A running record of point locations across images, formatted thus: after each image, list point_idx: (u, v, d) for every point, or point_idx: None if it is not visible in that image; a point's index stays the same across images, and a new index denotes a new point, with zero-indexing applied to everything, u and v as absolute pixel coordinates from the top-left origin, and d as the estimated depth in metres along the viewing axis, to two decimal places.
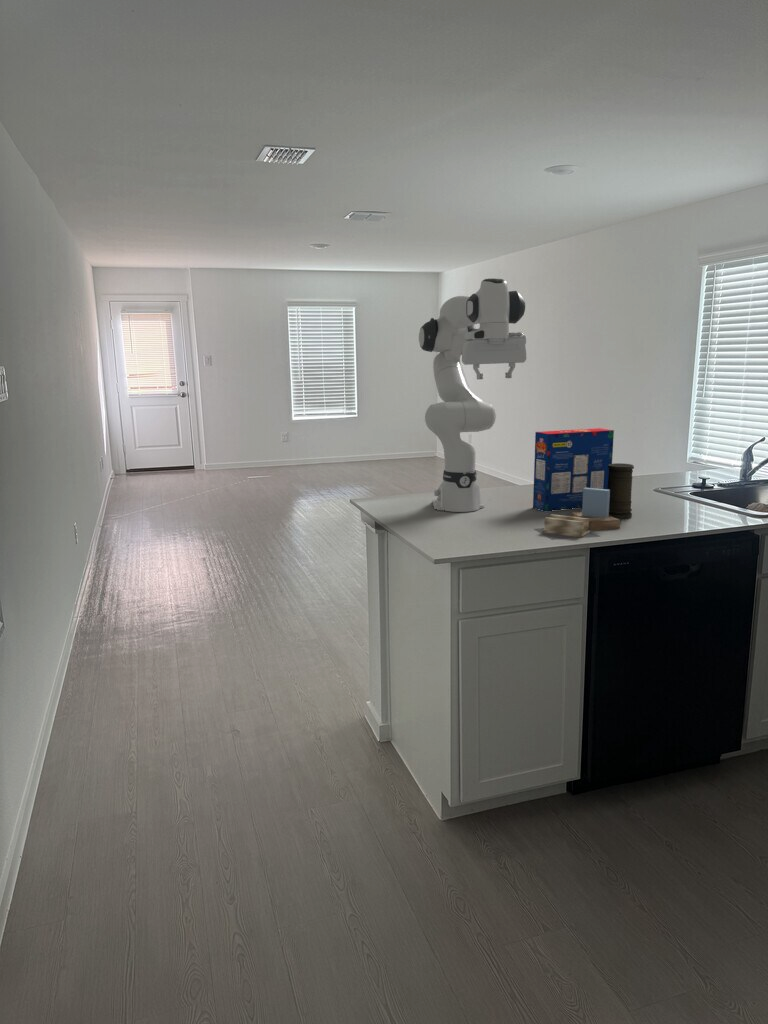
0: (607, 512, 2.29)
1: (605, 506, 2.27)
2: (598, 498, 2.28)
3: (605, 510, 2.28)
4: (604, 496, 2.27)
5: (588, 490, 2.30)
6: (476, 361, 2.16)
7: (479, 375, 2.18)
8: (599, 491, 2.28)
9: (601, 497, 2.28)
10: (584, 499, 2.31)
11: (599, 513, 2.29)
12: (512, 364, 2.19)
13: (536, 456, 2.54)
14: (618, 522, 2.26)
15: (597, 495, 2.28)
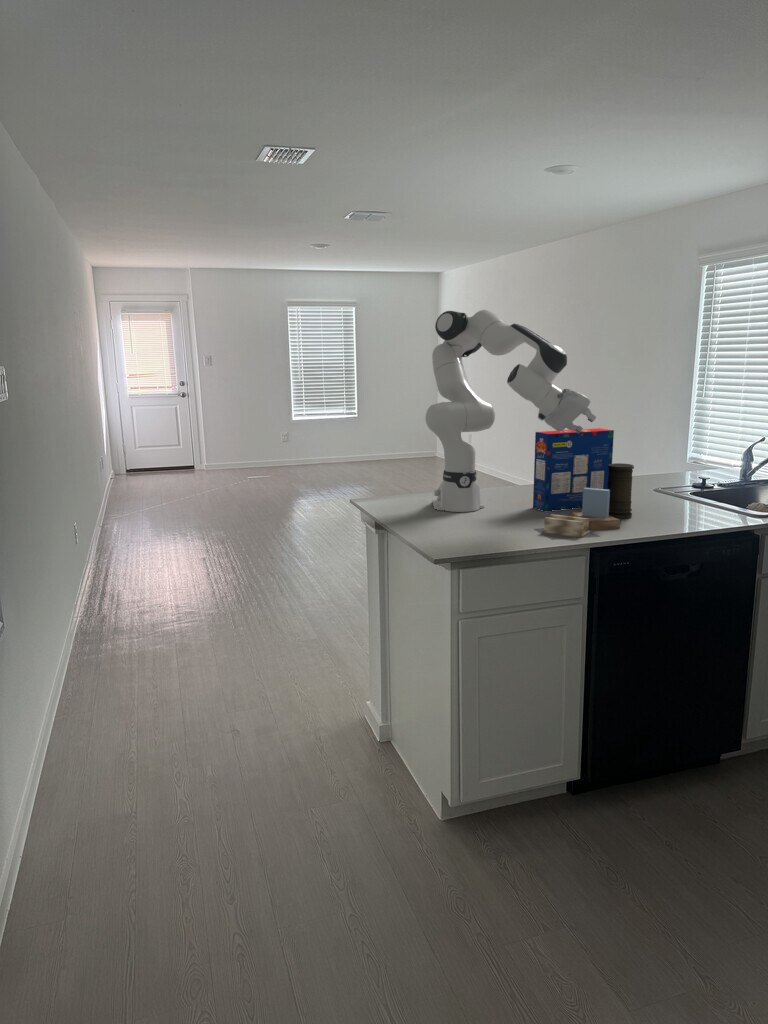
0: (607, 512, 2.29)
1: (605, 506, 2.27)
2: (598, 498, 2.28)
3: (605, 510, 2.28)
4: (604, 496, 2.27)
5: (588, 490, 2.30)
6: (562, 427, 2.33)
7: (576, 431, 2.32)
8: (599, 491, 2.28)
9: (601, 497, 2.28)
10: (584, 499, 2.31)
11: (599, 513, 2.29)
12: (583, 413, 2.22)
13: (536, 456, 2.54)
14: (618, 522, 2.26)
15: (597, 495, 2.28)
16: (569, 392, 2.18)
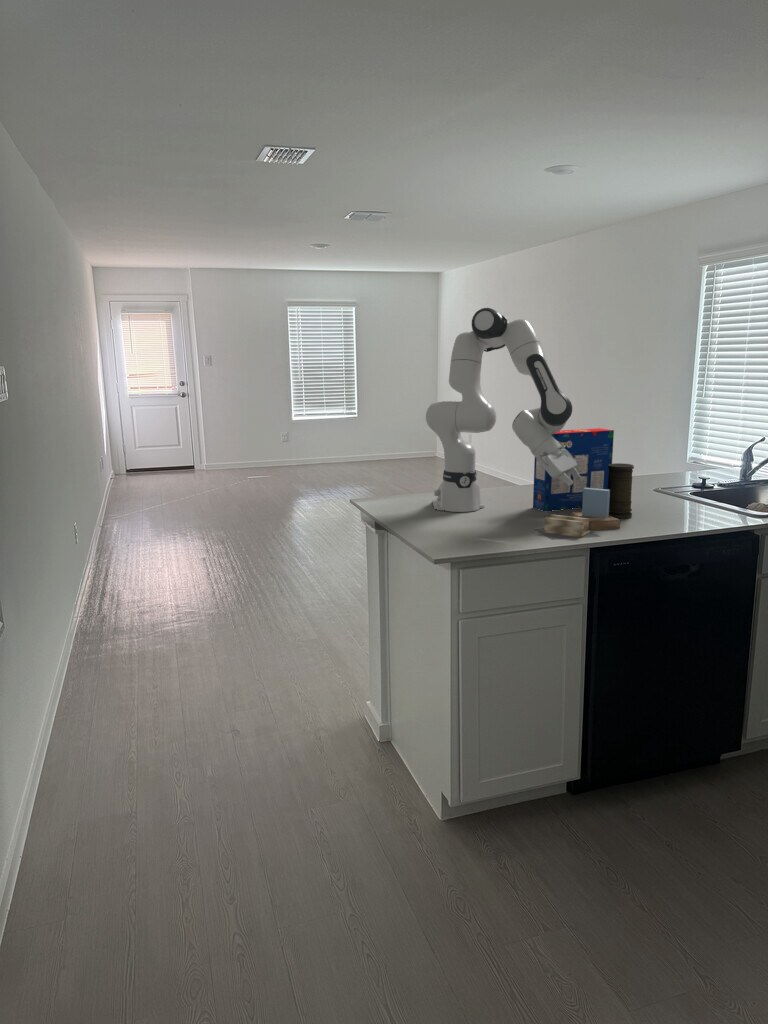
0: (607, 512, 2.29)
1: (605, 506, 2.27)
2: (598, 498, 2.28)
3: (605, 510, 2.28)
4: (604, 496, 2.27)
5: (588, 490, 2.30)
6: None
7: None
8: (599, 491, 2.28)
9: (601, 497, 2.28)
10: (584, 499, 2.31)
11: (599, 513, 2.29)
12: None
13: None
14: (618, 522, 2.26)
15: (597, 495, 2.28)
16: None
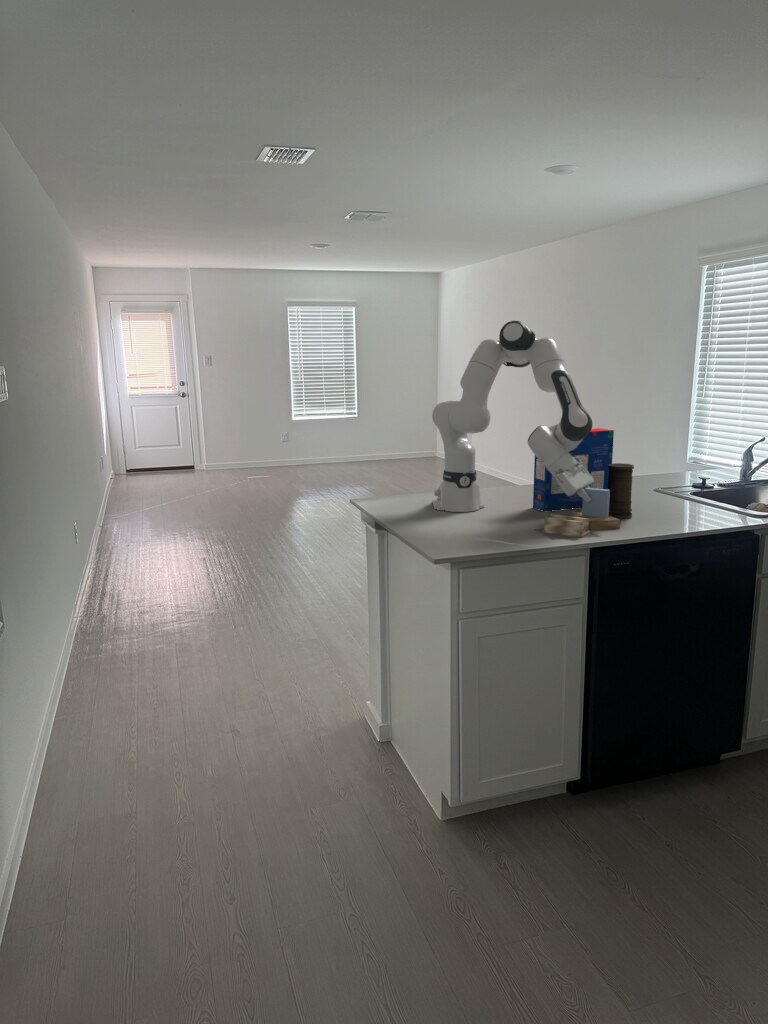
0: (607, 512, 2.29)
1: (605, 506, 2.27)
2: (598, 498, 2.28)
3: (605, 510, 2.28)
4: (604, 496, 2.27)
5: (588, 490, 2.30)
6: None
7: None
8: (599, 491, 2.28)
9: (601, 497, 2.28)
10: None
11: (599, 513, 2.29)
12: None
13: None
14: (618, 522, 2.26)
15: (597, 495, 2.28)
16: None
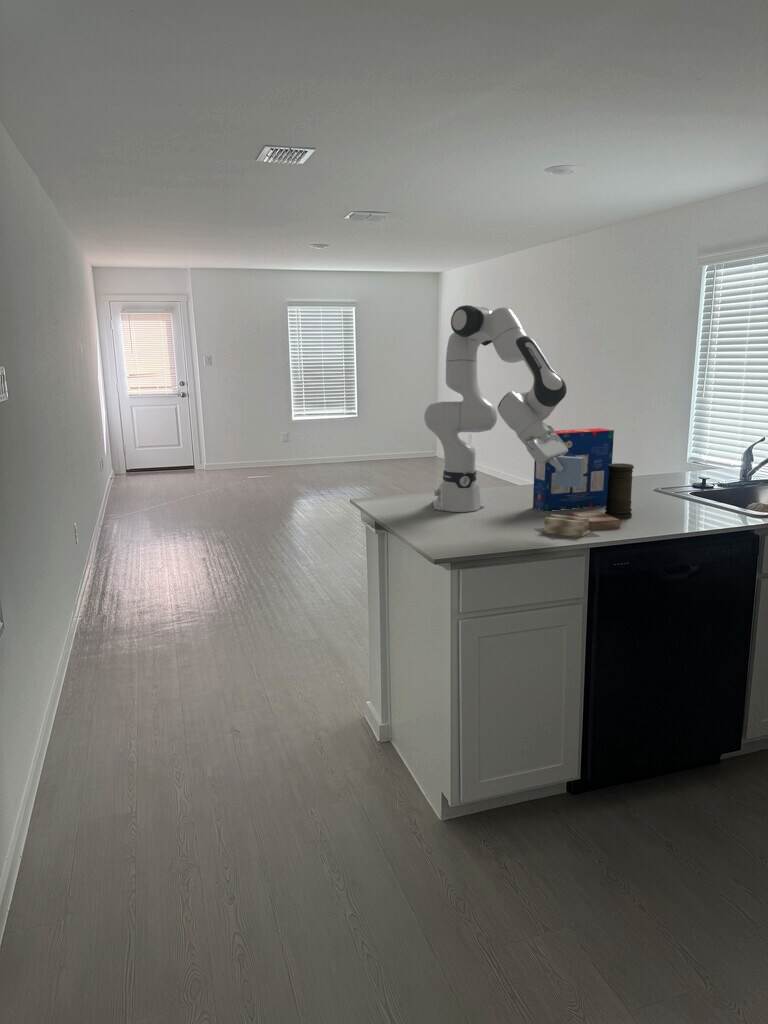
0: (581, 481, 2.16)
1: (579, 475, 2.15)
2: (571, 466, 2.15)
3: (579, 479, 2.15)
4: (578, 464, 2.14)
5: (561, 458, 2.17)
6: None
7: None
8: (572, 459, 2.15)
9: (575, 465, 2.15)
10: None
11: (573, 482, 2.16)
12: None
13: None
14: (618, 522, 2.26)
15: (570, 463, 2.15)
16: None
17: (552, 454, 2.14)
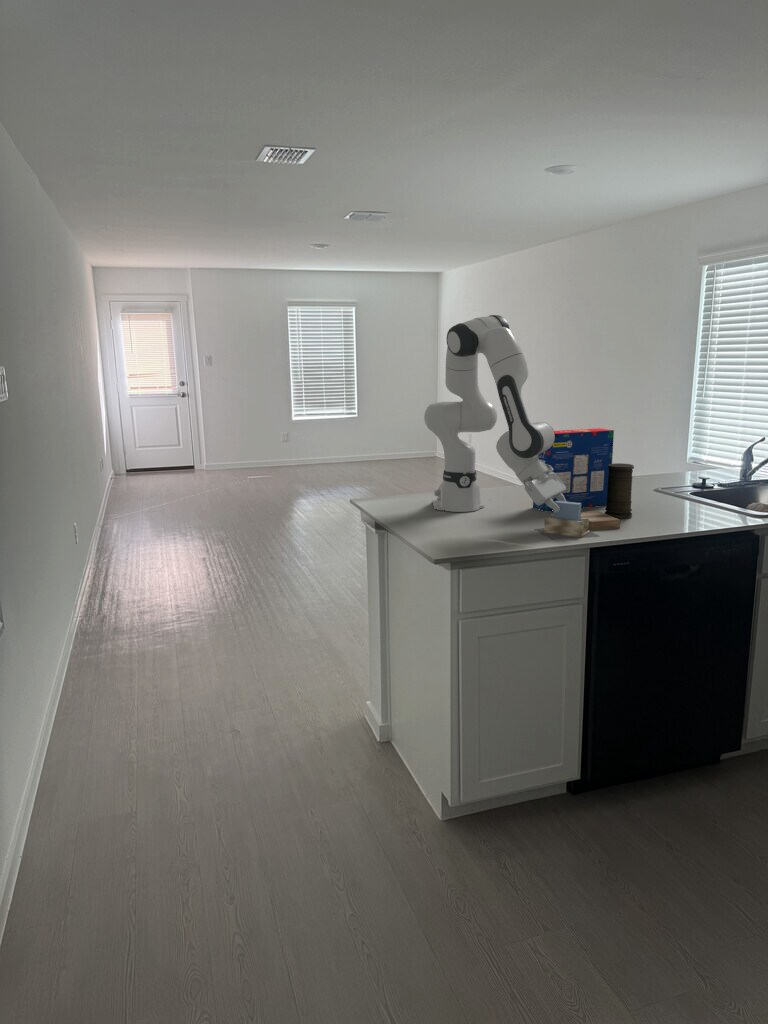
0: None
1: (576, 520, 2.18)
2: (569, 511, 2.18)
3: None
4: (575, 510, 2.17)
5: (558, 504, 2.20)
6: None
7: None
8: (570, 505, 2.18)
9: (572, 511, 2.18)
10: (555, 513, 2.21)
11: None
12: None
13: None
14: (618, 522, 2.26)
15: (568, 508, 2.18)
16: None
17: (550, 495, 2.17)
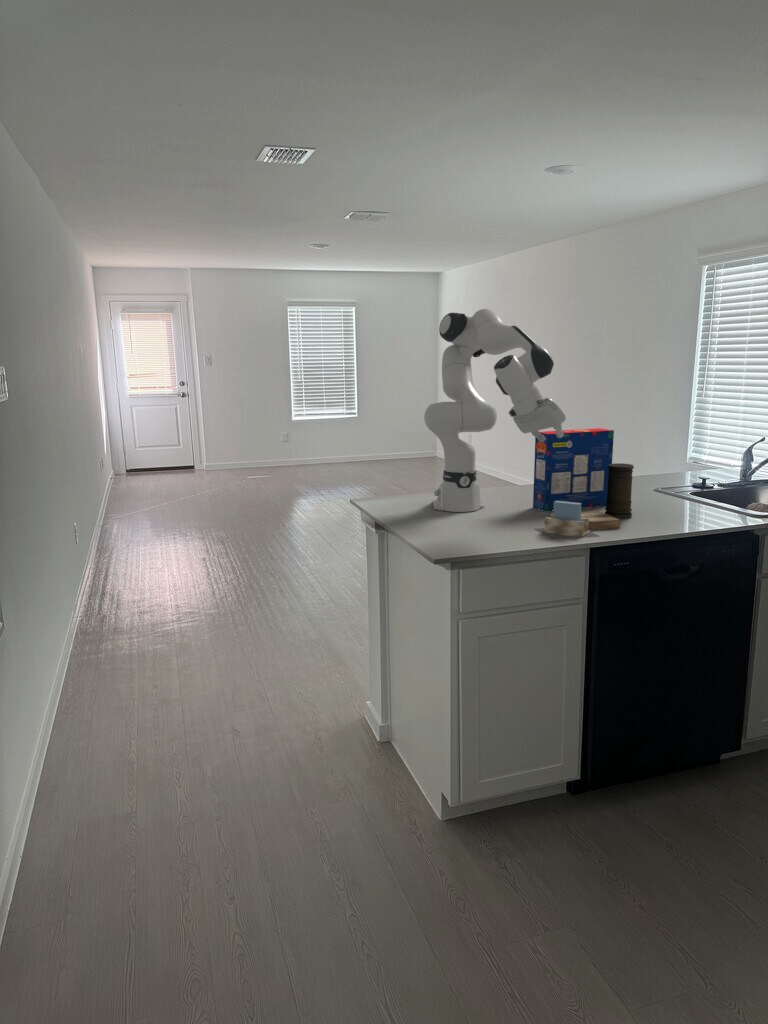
0: None
1: (576, 520, 2.18)
2: (569, 511, 2.18)
3: None
4: (575, 510, 2.17)
5: (558, 504, 2.20)
6: (528, 430, 2.29)
7: (538, 439, 2.29)
8: (570, 505, 2.18)
9: (572, 511, 2.18)
10: (555, 513, 2.21)
11: None
12: (554, 427, 2.19)
13: (536, 456, 2.54)
14: (618, 522, 2.26)
15: (568, 508, 2.18)
16: (550, 403, 2.14)
17: None
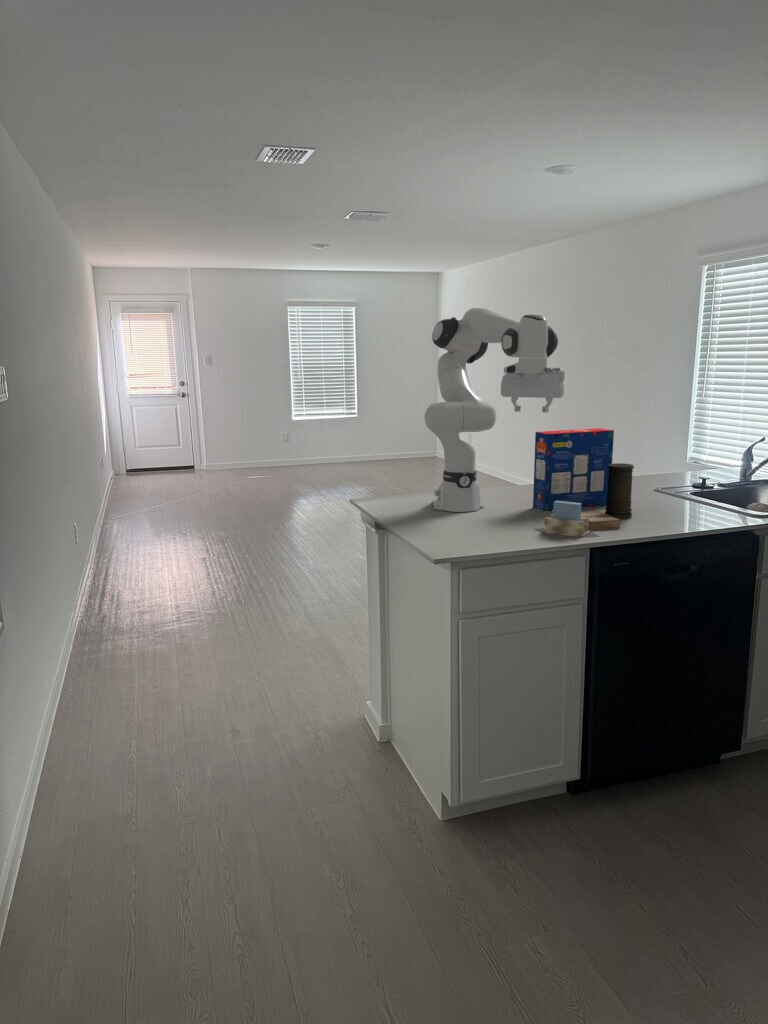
0: None
1: (576, 520, 2.18)
2: (569, 511, 2.18)
3: None
4: (575, 510, 2.17)
5: (558, 504, 2.20)
6: (510, 394, 2.26)
7: (515, 407, 2.27)
8: (570, 505, 2.18)
9: (572, 511, 2.18)
10: (555, 513, 2.21)
11: None
12: (547, 399, 2.21)
13: (536, 456, 2.54)
14: (618, 522, 2.26)
15: (568, 508, 2.18)
16: (561, 374, 2.18)
17: None
